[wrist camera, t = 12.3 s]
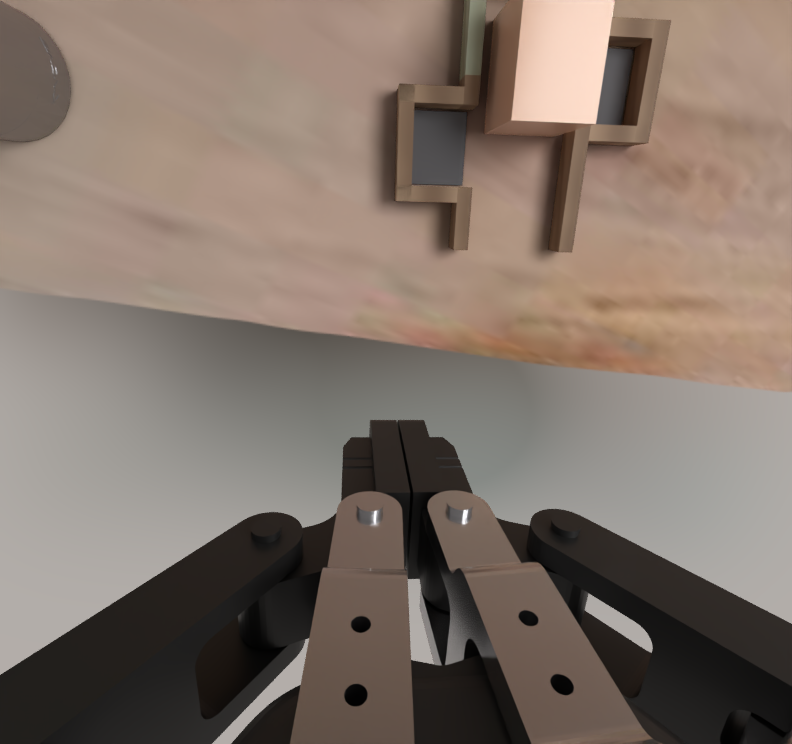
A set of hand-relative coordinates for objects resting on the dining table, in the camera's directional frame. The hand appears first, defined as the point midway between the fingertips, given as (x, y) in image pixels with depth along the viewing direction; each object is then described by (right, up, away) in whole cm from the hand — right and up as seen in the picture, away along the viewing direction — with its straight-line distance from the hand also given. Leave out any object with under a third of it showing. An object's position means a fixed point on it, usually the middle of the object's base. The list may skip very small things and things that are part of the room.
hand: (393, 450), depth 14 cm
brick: (+11, +26, +26) cm, 38 cm away
